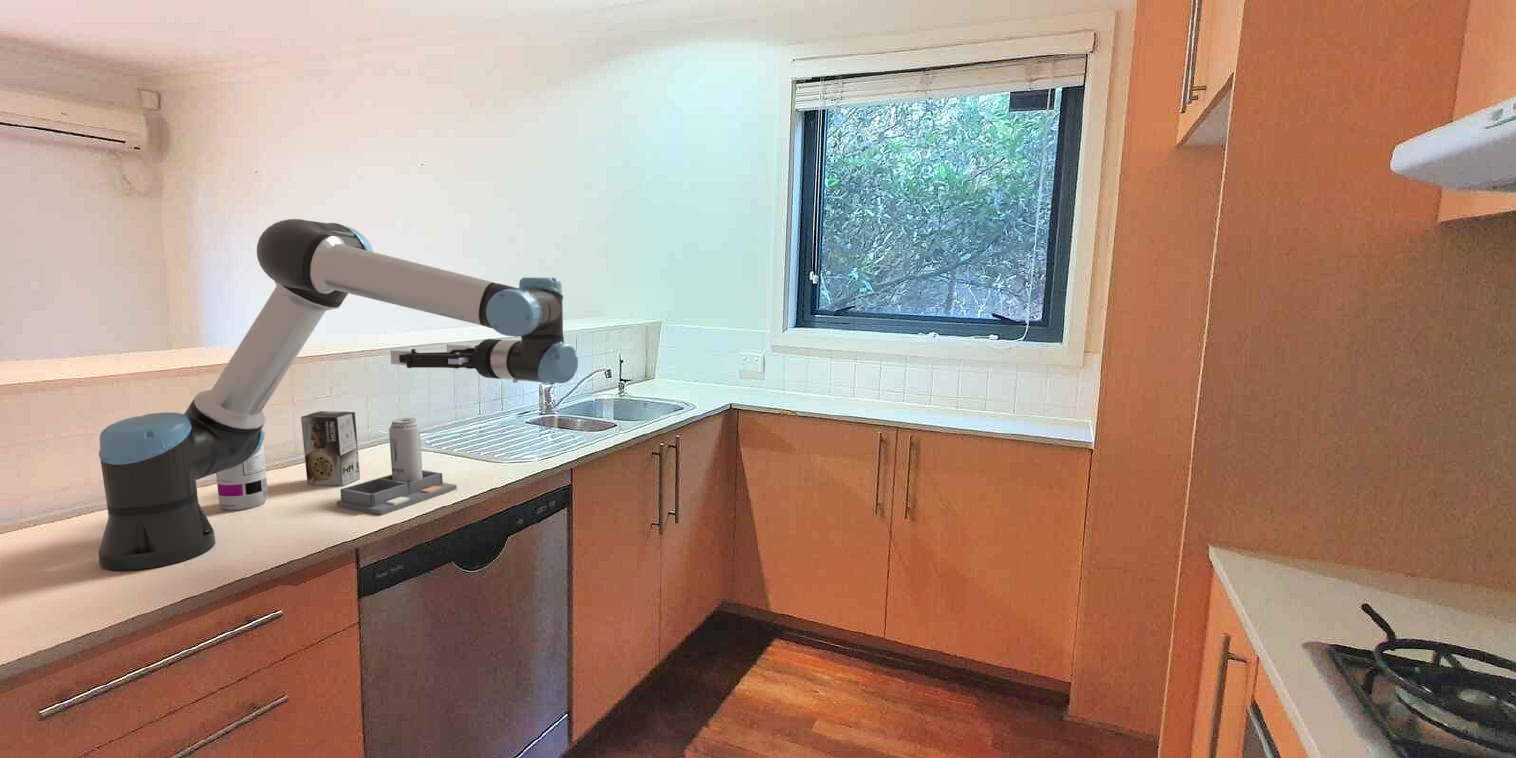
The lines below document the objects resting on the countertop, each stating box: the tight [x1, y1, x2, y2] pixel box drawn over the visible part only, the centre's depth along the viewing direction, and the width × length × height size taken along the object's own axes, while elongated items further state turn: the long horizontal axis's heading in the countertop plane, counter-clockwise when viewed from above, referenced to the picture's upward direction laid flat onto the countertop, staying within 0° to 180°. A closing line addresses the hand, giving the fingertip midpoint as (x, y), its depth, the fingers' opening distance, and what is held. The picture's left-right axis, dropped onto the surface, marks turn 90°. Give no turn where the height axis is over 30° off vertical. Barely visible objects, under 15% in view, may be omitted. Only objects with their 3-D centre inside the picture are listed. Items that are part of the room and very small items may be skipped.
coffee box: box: [300, 410, 361, 487], centre depth 161 cm, size 9×6×16 cm
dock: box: [336, 469, 458, 516], centre depth 151 cm, size 19×13×4 cm
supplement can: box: [215, 442, 269, 511], centre depth 144 cm, size 8×8×15 cm
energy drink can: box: [388, 417, 423, 483], centre depth 155 cm, size 6×6×15 cm
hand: (421, 353), depth 142 cm, fingers open, 13 cm apart
